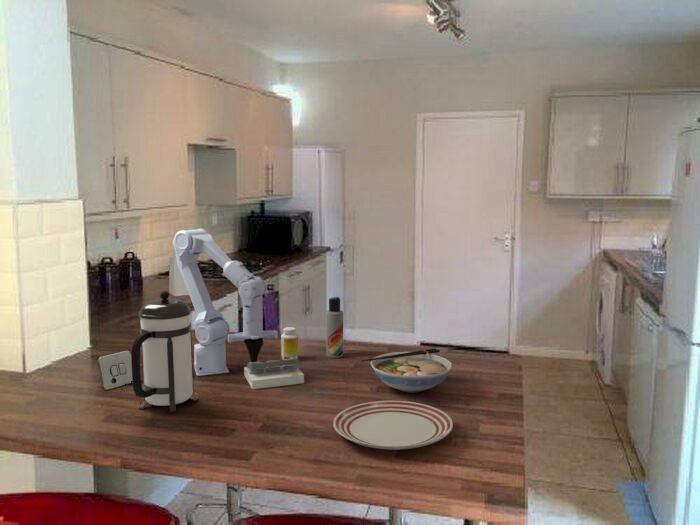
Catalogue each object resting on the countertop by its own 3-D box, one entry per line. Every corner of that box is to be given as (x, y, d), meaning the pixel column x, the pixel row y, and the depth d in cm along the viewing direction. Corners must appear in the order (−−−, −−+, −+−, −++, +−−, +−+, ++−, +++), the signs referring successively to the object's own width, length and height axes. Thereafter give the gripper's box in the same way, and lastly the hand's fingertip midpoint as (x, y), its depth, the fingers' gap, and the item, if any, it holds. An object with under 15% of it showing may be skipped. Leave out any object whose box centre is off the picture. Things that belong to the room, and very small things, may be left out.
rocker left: (251, 369, 164) (251, 363, 164) (247, 368, 170) (247, 362, 170) (265, 368, 165) (265, 362, 165) (260, 366, 172) (260, 361, 172)
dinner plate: (308, 433, 133) (308, 419, 133) (387, 402, 152) (387, 390, 152) (398, 474, 114) (398, 458, 113) (476, 433, 133) (476, 420, 132)
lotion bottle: (341, 358, 190) (341, 299, 187) (324, 357, 191) (324, 298, 188) (344, 354, 195) (344, 296, 193) (328, 353, 196) (328, 295, 194)
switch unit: (252, 389, 161) (252, 377, 161) (244, 375, 173) (244, 363, 173) (304, 383, 166) (304, 371, 166) (292, 369, 178) (292, 358, 178)
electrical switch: (105, 391, 160) (102, 358, 159) (96, 388, 163) (93, 356, 163) (136, 382, 167) (133, 350, 167) (127, 380, 170) (124, 349, 170)
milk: (196, 294, 304) (195, 245, 301) (174, 296, 298) (172, 246, 295) (190, 290, 314) (189, 243, 311) (169, 292, 308) (167, 244, 305)
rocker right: (286, 365, 167) (285, 359, 167) (280, 364, 174) (280, 359, 174) (299, 364, 169) (298, 358, 169) (293, 363, 175) (293, 358, 175)
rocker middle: (269, 367, 165) (268, 361, 166) (264, 366, 172) (263, 361, 172) (282, 365, 167) (282, 360, 167) (277, 365, 173) (277, 359, 174)
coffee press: (134, 398, 154) (128, 288, 150) (195, 390, 160) (191, 284, 156) (134, 423, 138) (128, 300, 134) (202, 413, 144) (198, 295, 140)
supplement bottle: (301, 359, 189) (301, 328, 188) (287, 362, 186) (286, 331, 185) (292, 355, 194) (291, 325, 192) (278, 358, 190) (277, 328, 189)
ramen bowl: (388, 409, 147) (388, 378, 146) (354, 381, 168) (354, 354, 167) (471, 396, 156) (472, 366, 155) (429, 371, 177) (429, 345, 176)
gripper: (230, 324, 163) (230, 369, 166) (280, 320, 168) (280, 364, 171) (226, 318, 170) (227, 362, 172) (274, 314, 175) (274, 357, 177)
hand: (253, 363), depth 172 cm, fingers closed, pressing on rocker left
